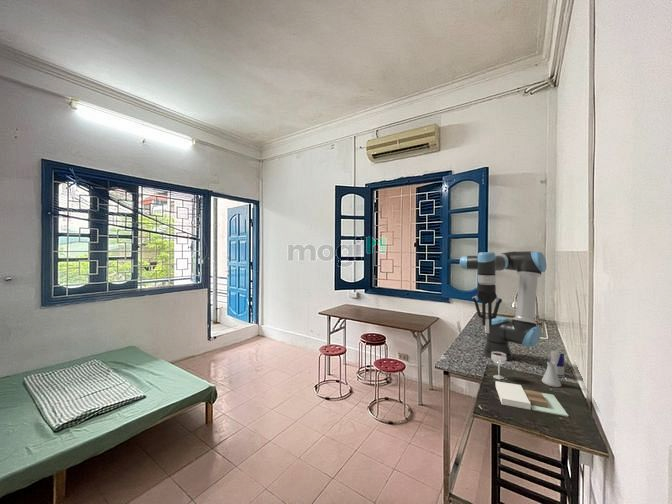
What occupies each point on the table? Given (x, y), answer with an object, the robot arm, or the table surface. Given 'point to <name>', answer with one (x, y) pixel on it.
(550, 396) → the mat
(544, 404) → the walnut tile
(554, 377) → the flask
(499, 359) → the wineglass
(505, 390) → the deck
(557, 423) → the table surface
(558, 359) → the energy drink
